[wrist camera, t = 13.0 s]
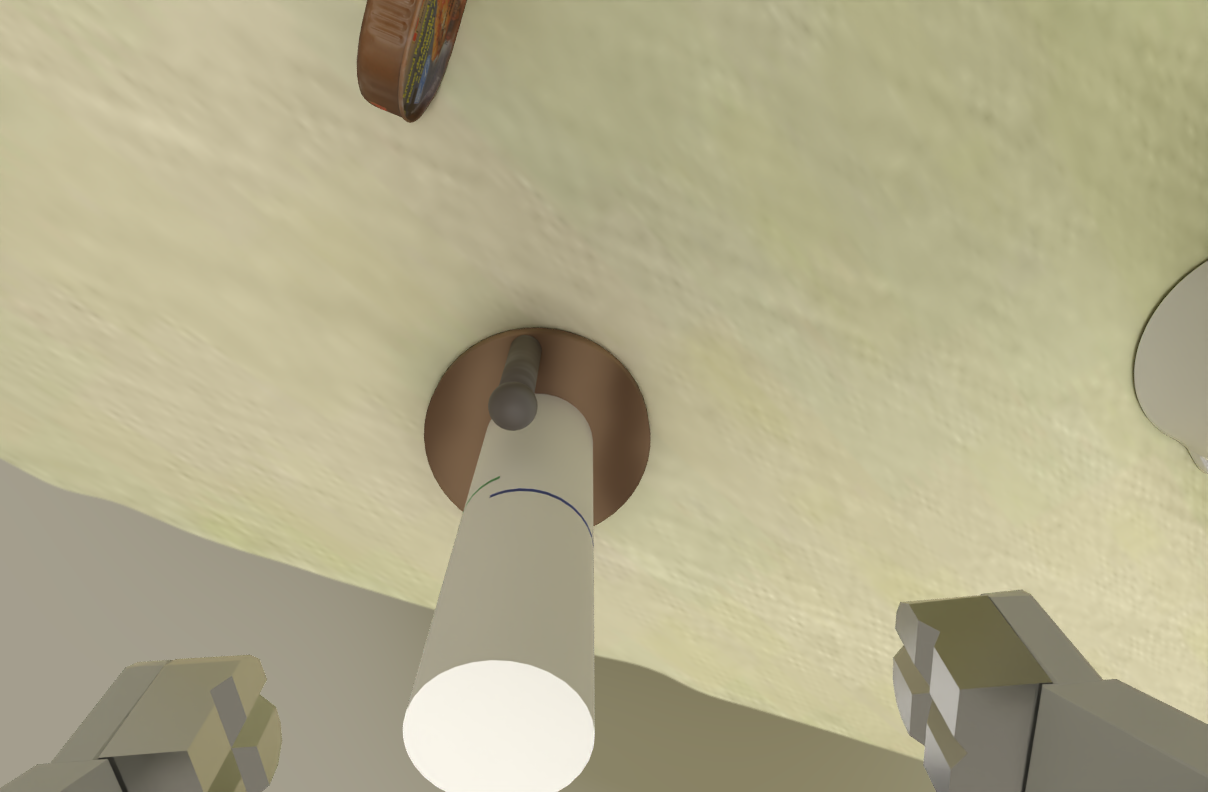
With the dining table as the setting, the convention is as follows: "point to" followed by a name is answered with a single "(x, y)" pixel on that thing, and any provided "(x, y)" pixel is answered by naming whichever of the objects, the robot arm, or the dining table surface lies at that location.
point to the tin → (406, 52)
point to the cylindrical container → (514, 619)
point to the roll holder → (507, 396)
